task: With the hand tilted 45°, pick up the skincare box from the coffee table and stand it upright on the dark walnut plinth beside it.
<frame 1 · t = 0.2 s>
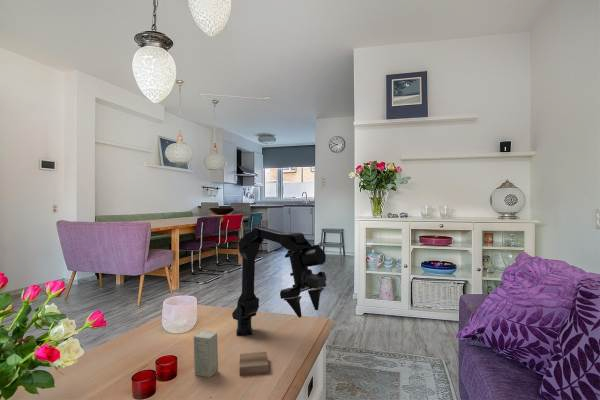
hand: (308, 313, 111), 15 cm above the table, tool pointing down, fingers open, 9 cm apart
walnut plinth: (253, 366, 105), on the table
skincare box: (205, 373, 101), on the table
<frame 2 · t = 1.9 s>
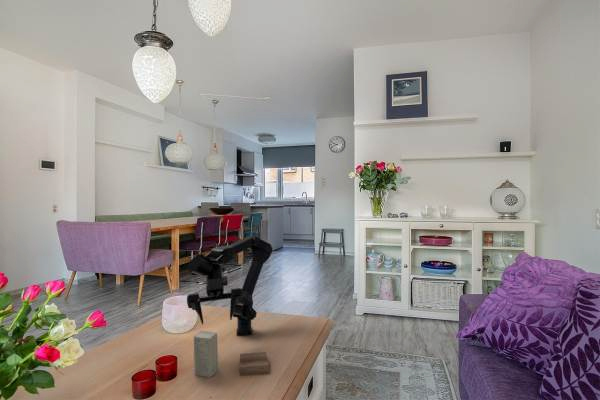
hand: (216, 321, 108), 14 cm above the table, tool tilted 40°, fingers open, 9 cm apart
nothing on the table moved.
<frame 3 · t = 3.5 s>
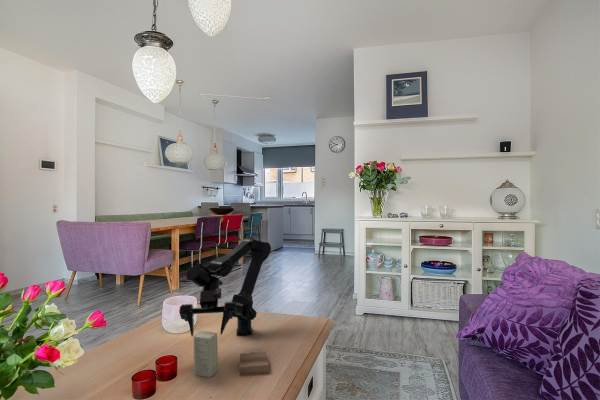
hand: (206, 335, 105), 10 cm above the table, tool tilted 45°, fingers open, 9 cm apart
nothing on the table moved.
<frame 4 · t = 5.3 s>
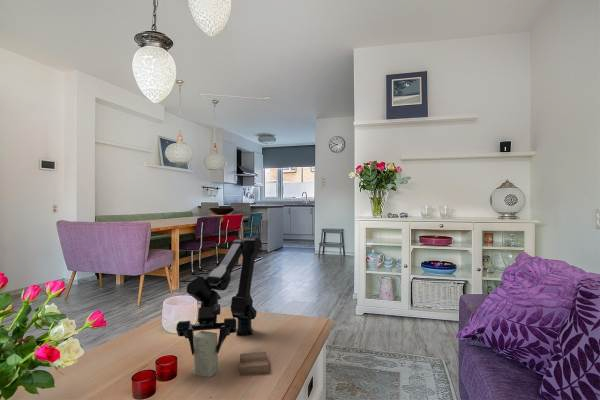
hand: (205, 353, 100), 7 cm above the table, tool tilted 45°, fingers closed on skincare box, 7 cm apart
skincare box: (205, 373, 101), on the table, touching gripper
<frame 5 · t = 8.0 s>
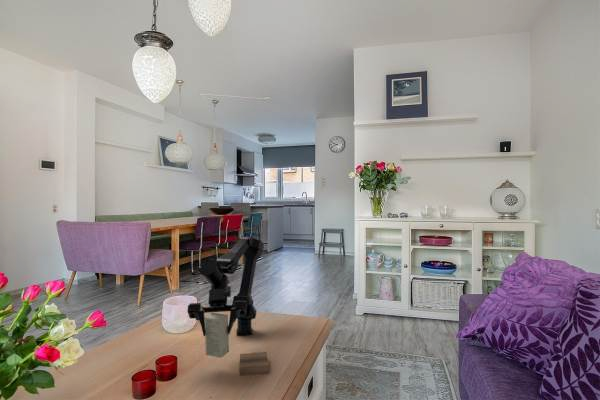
hand: (216, 334, 101), 12 cm above the table, tool tilted 45°, fingers closed on skincare box, 7 cm apart
skincare box: (217, 354, 103), point 5 cm above the table, touching gripper
when the fingers open (10 cm above the table, at t = 10.8 s): skincare box stays where it is, resting on walnut plinth.
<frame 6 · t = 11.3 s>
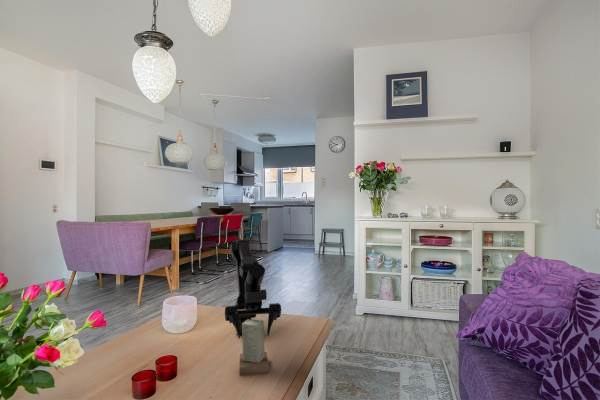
hand: (253, 336, 104), 10 cm above the table, tool tilted 45°, fingers open, 9 cm apart
skincare box: (253, 359, 105), point 2 cm above the table, touching walnut plinth
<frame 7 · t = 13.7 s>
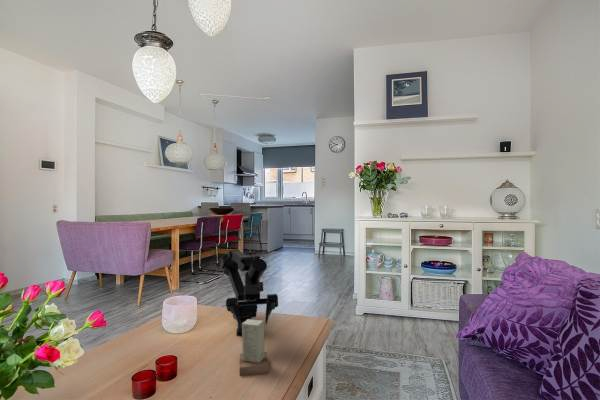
hand: (253, 325, 113), 11 cm above the table, tool tilted 45°, fingers open, 9 cm apart
nothing on the table moved.
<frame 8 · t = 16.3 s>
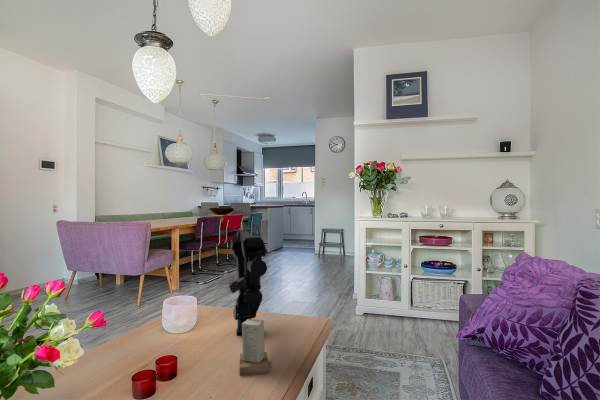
hand: (252, 313, 118), 13 cm above the table, tool pointing down, fingers open, 9 cm apart
nothing on the table moved.
at the end: skincare box 0.2 cm off-centre on the walnut plinth, point 2.3 cm above the walnut plinth's base; skincare box tilted 0°; the gripper is holding nothing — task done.
